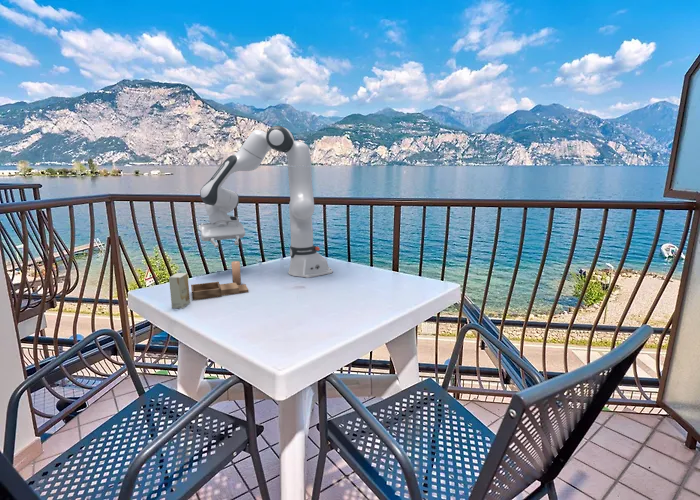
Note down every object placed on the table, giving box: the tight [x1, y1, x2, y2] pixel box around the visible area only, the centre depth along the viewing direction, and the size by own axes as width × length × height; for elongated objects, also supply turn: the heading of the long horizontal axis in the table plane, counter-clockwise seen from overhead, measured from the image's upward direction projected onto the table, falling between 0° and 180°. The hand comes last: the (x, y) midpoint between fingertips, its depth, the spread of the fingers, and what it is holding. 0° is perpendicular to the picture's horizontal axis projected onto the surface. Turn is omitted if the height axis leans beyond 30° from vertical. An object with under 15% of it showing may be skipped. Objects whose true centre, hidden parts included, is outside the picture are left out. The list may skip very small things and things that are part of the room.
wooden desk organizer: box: [190, 281, 250, 301], centre depth 148 cm, size 22×10×4 cm, turn 115°
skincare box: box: [168, 272, 191, 309], centre depth 133 cm, size 6×4×12 cm
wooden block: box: [230, 260, 242, 285], centre depth 159 cm, size 4×4×10 cm
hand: (227, 245), depth 166 cm, fingers open, 8 cm apart
